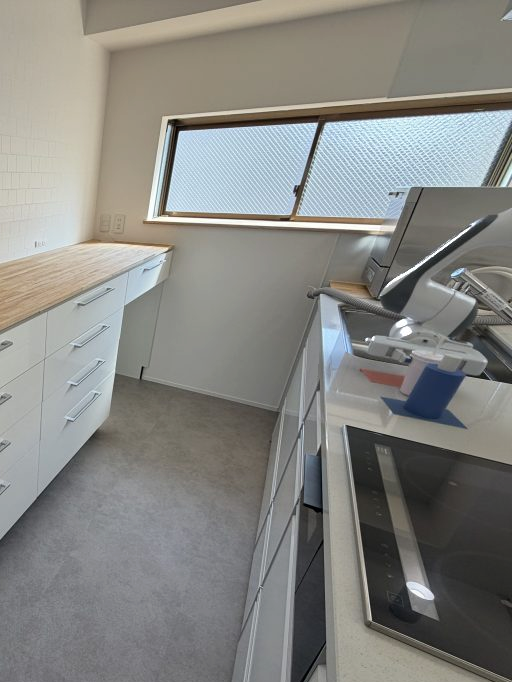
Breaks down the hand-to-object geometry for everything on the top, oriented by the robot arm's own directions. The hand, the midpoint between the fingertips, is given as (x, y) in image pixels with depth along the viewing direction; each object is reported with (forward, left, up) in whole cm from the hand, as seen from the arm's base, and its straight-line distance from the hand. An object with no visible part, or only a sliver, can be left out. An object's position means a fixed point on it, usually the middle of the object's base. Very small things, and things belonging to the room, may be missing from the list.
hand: (428, 364), depth 92 cm
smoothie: (0, -1, -8) cm, 8 cm away
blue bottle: (+1, +9, -8) cm, 12 cm away
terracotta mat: (0, -9, -8) cm, 12 cm away
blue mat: (+1, +9, -8) cm, 12 cm away
